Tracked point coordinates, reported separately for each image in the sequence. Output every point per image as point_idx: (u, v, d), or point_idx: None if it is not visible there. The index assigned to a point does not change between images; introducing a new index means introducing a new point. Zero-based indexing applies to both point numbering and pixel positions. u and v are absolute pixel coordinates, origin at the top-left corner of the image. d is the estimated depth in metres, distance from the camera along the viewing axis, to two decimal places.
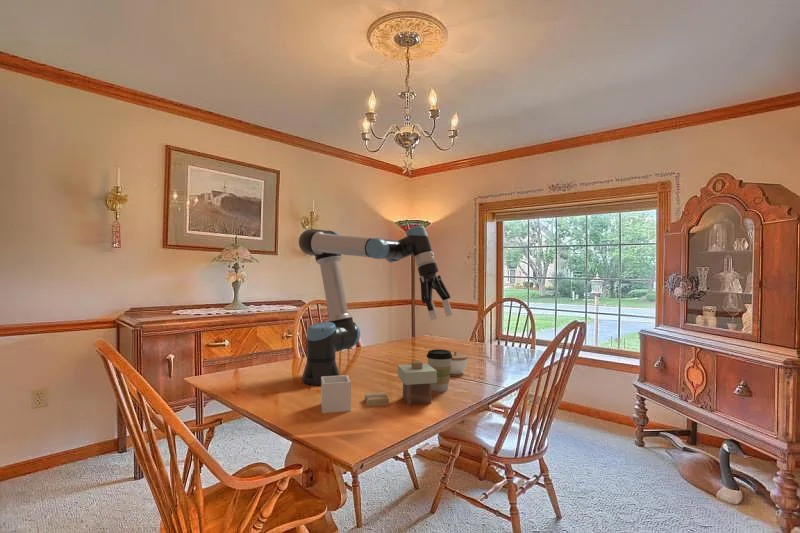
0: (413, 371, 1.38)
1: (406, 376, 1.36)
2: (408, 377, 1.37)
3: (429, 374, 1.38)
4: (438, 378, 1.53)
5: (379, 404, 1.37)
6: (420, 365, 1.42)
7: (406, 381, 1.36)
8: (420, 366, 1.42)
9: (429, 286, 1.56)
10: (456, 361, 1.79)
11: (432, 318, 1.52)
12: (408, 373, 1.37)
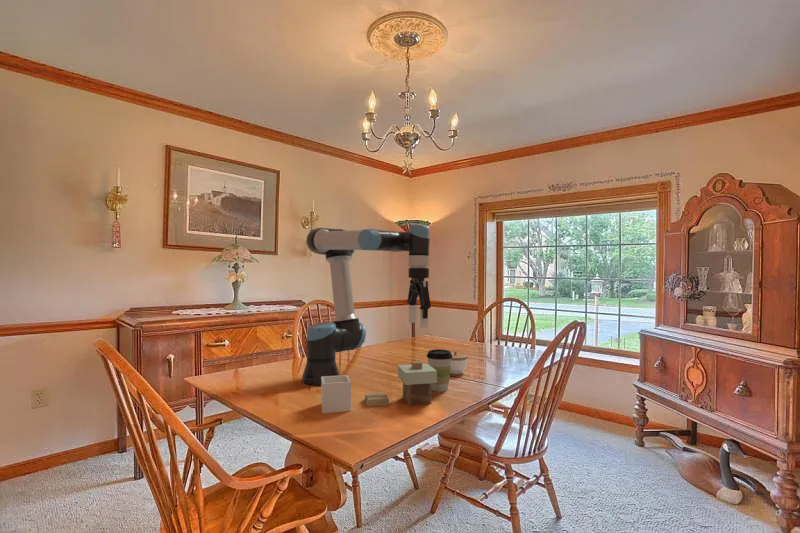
0: (413, 371, 1.38)
1: (406, 376, 1.36)
2: (408, 377, 1.37)
3: (429, 374, 1.38)
4: (438, 378, 1.53)
5: (379, 404, 1.37)
6: (420, 365, 1.42)
7: (406, 381, 1.36)
8: (420, 366, 1.42)
9: None
10: (456, 361, 1.79)
11: (422, 326, 1.45)
12: (408, 373, 1.37)
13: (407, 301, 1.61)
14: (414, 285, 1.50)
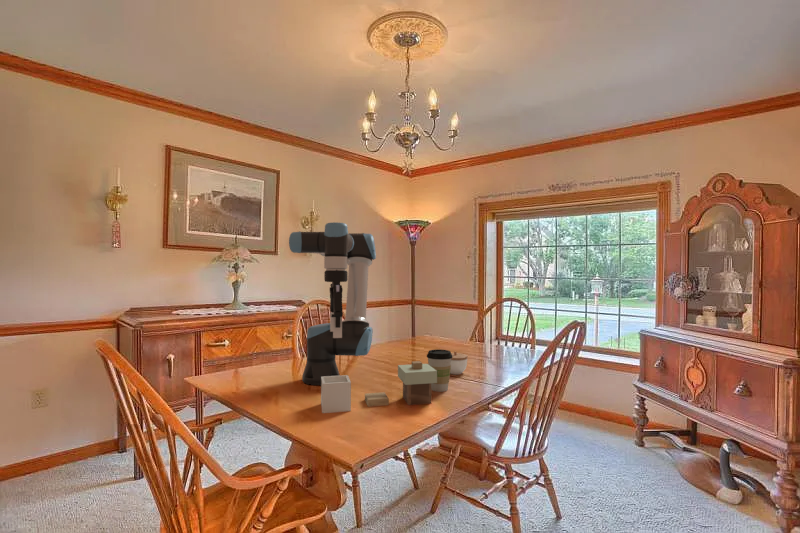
0: (413, 371, 1.38)
1: (406, 376, 1.36)
2: (408, 377, 1.37)
3: (429, 374, 1.38)
4: (438, 378, 1.53)
5: (379, 404, 1.37)
6: (420, 365, 1.42)
7: (406, 381, 1.36)
8: (420, 366, 1.42)
9: None
10: (456, 361, 1.79)
11: (335, 336, 1.28)
12: (408, 373, 1.37)
13: None
14: (330, 290, 1.34)
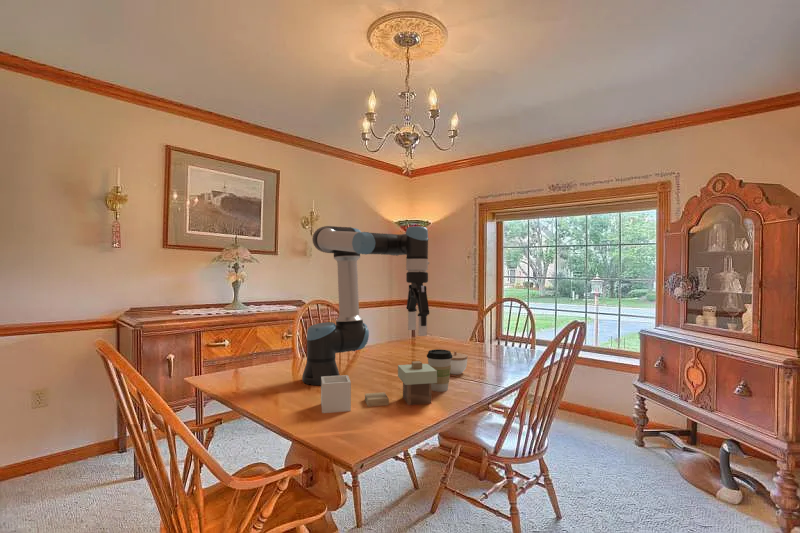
0: (413, 371, 1.38)
1: (406, 376, 1.36)
2: (408, 377, 1.37)
3: (429, 374, 1.38)
4: (438, 378, 1.53)
5: (379, 404, 1.37)
6: (420, 365, 1.42)
7: (406, 381, 1.36)
8: (420, 366, 1.42)
9: None
10: (456, 361, 1.79)
11: (421, 334, 1.36)
12: (408, 373, 1.37)
13: (406, 307, 1.52)
14: (412, 290, 1.42)
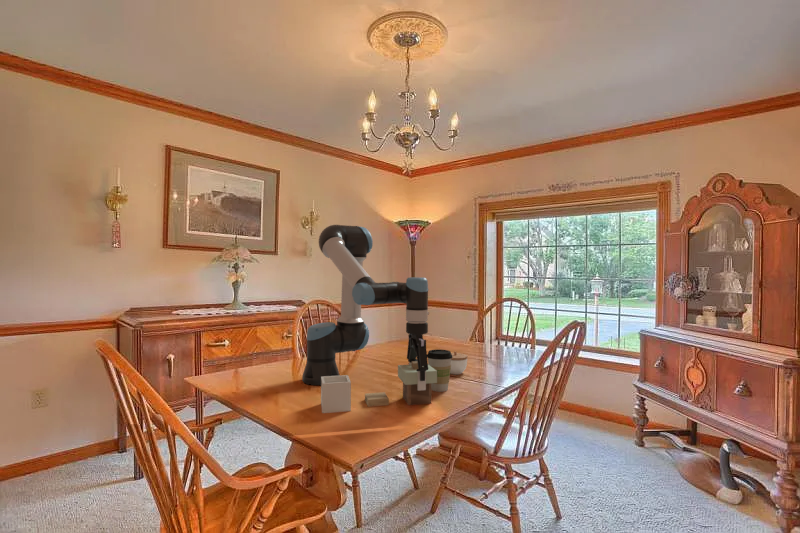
0: (413, 371, 1.38)
1: (406, 376, 1.36)
2: (408, 377, 1.37)
3: (429, 374, 1.38)
4: (438, 378, 1.53)
5: (379, 404, 1.37)
6: None
7: (406, 381, 1.36)
8: None
9: None
10: (456, 361, 1.79)
11: (420, 389, 1.37)
12: (408, 373, 1.37)
13: (407, 357, 1.51)
14: (412, 341, 1.41)
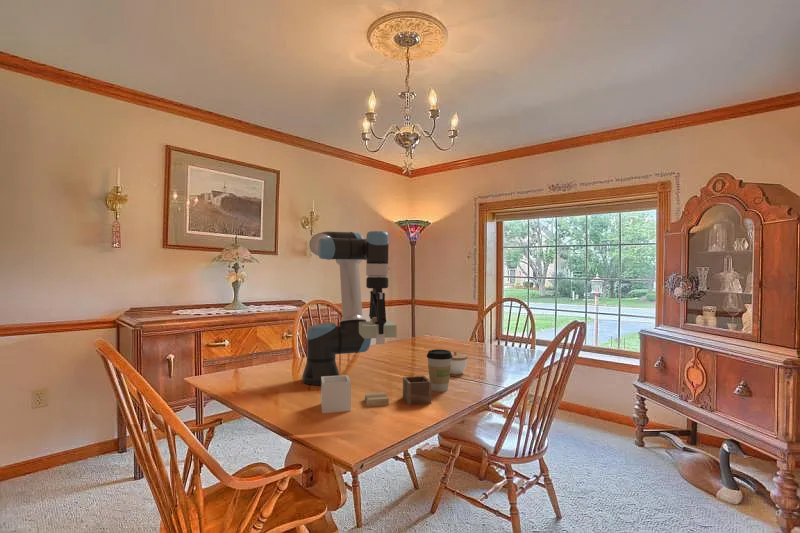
0: (372, 325, 1.36)
1: (364, 329, 1.34)
2: (366, 331, 1.34)
3: (388, 328, 1.36)
4: (438, 378, 1.53)
5: (379, 404, 1.37)
6: None
7: (364, 335, 1.34)
8: None
9: None
10: (456, 361, 1.79)
11: (378, 342, 1.35)
12: (366, 326, 1.34)
13: (369, 315, 1.49)
14: (372, 296, 1.39)
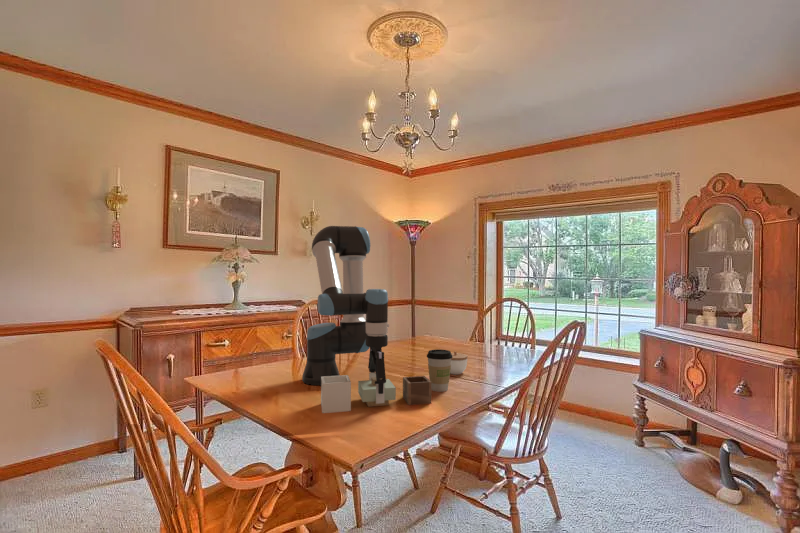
0: (371, 388, 1.36)
1: (363, 393, 1.34)
2: (366, 394, 1.34)
3: (387, 391, 1.36)
4: (438, 378, 1.53)
5: (379, 404, 1.37)
6: None
7: (363, 398, 1.34)
8: None
9: None
10: (456, 361, 1.79)
11: (378, 402, 1.34)
12: (366, 390, 1.34)
13: (368, 367, 1.50)
14: (371, 354, 1.39)
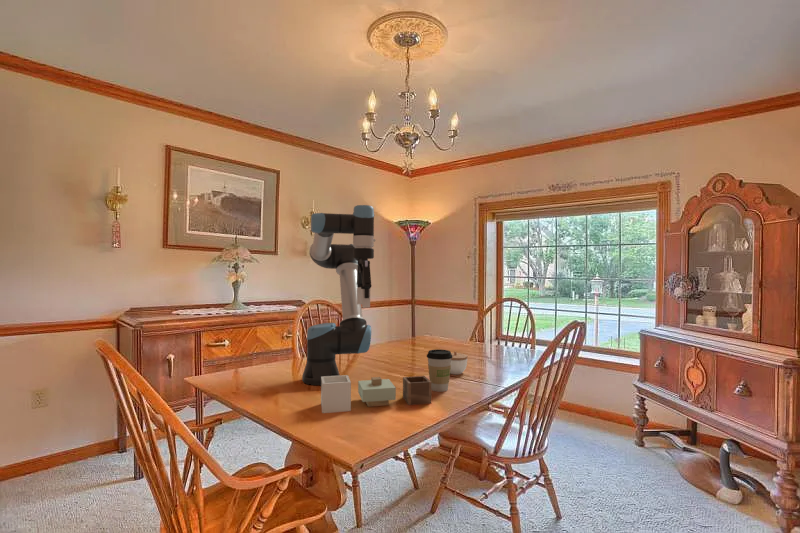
0: (371, 388, 1.36)
1: (363, 393, 1.34)
2: (366, 394, 1.34)
3: (387, 391, 1.36)
4: (438, 378, 1.53)
5: (379, 404, 1.37)
6: (379, 381, 1.39)
7: (363, 398, 1.34)
8: (379, 382, 1.39)
9: None
10: (456, 361, 1.79)
11: (364, 306, 1.44)
12: (366, 390, 1.34)
13: (356, 283, 1.60)
14: (358, 266, 1.49)
